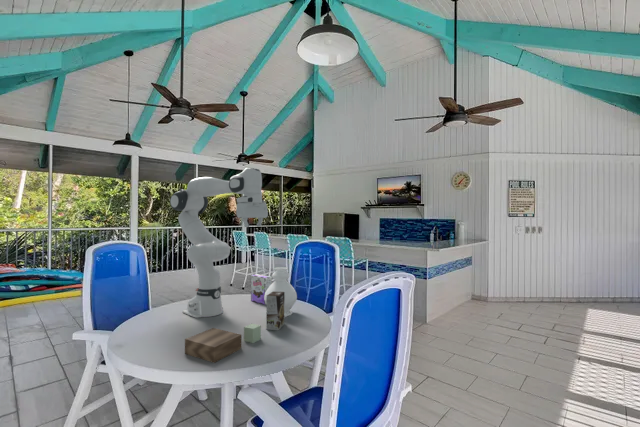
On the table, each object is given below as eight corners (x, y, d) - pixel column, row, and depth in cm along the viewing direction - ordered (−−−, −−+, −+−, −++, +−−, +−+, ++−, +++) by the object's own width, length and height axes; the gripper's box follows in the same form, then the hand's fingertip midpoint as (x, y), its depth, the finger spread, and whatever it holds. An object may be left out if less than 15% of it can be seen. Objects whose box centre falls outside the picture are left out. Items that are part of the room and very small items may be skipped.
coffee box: (278, 330, 146) (279, 295, 146) (265, 329, 147) (266, 295, 148) (285, 324, 155) (285, 291, 155) (272, 323, 156) (272, 290, 157)
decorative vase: (303, 313, 172) (303, 268, 172) (277, 321, 159) (277, 272, 160) (283, 307, 184) (283, 264, 185) (257, 313, 172) (257, 268, 172)
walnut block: (184, 354, 121) (184, 339, 122) (213, 341, 134) (213, 327, 134) (214, 363, 114) (214, 347, 114) (241, 349, 126) (241, 334, 126)
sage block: (244, 341, 134) (244, 327, 134) (251, 337, 138) (251, 323, 138) (253, 343, 132) (253, 329, 132) (260, 339, 136) (260, 325, 136)
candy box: (250, 300, 198) (250, 274, 198) (257, 299, 203) (257, 273, 203) (264, 304, 189) (264, 277, 190) (272, 302, 194) (272, 276, 194)
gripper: (261, 200, 170) (261, 226, 169) (234, 198, 152) (234, 227, 151) (270, 200, 167) (270, 226, 166) (244, 198, 149) (244, 227, 148)
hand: (253, 226), depth 159 cm, fingers open, 8 cm apart
